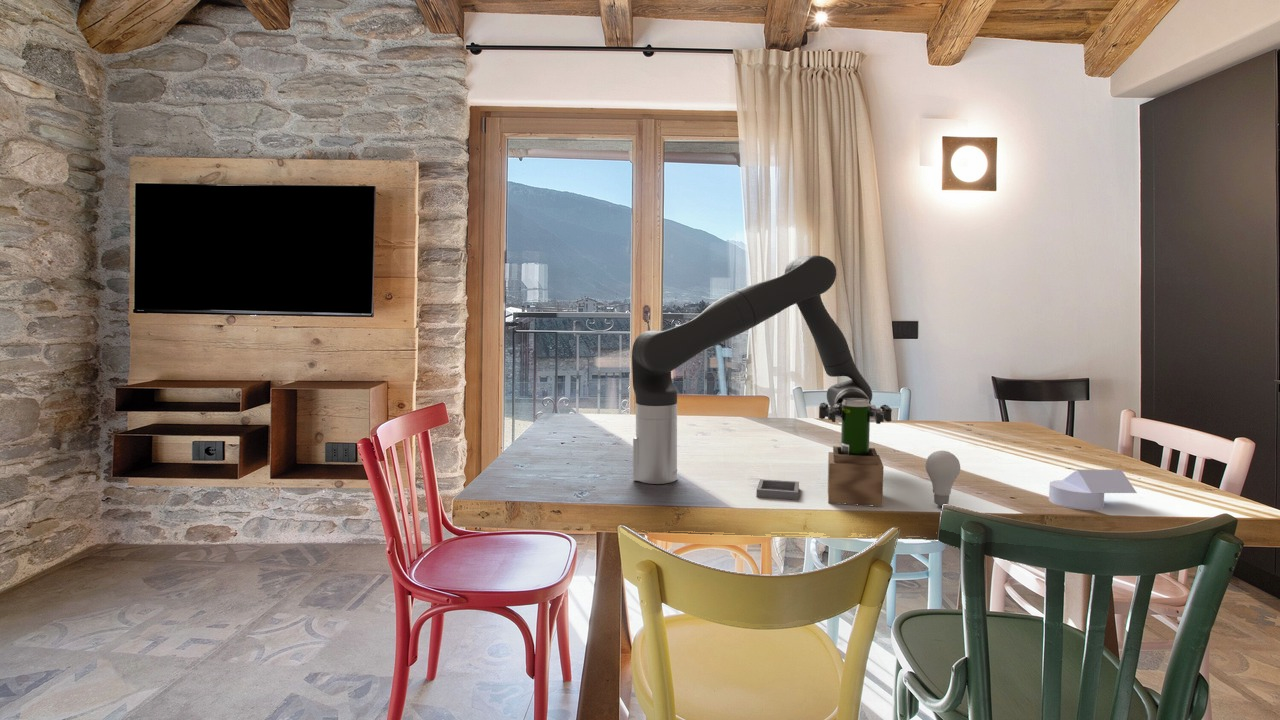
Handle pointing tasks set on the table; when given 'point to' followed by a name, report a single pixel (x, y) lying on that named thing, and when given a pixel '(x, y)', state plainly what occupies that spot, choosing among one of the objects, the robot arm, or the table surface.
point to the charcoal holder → (778, 493)
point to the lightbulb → (942, 474)
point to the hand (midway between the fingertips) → (856, 417)
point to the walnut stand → (855, 478)
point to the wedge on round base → (1088, 488)
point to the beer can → (855, 427)
